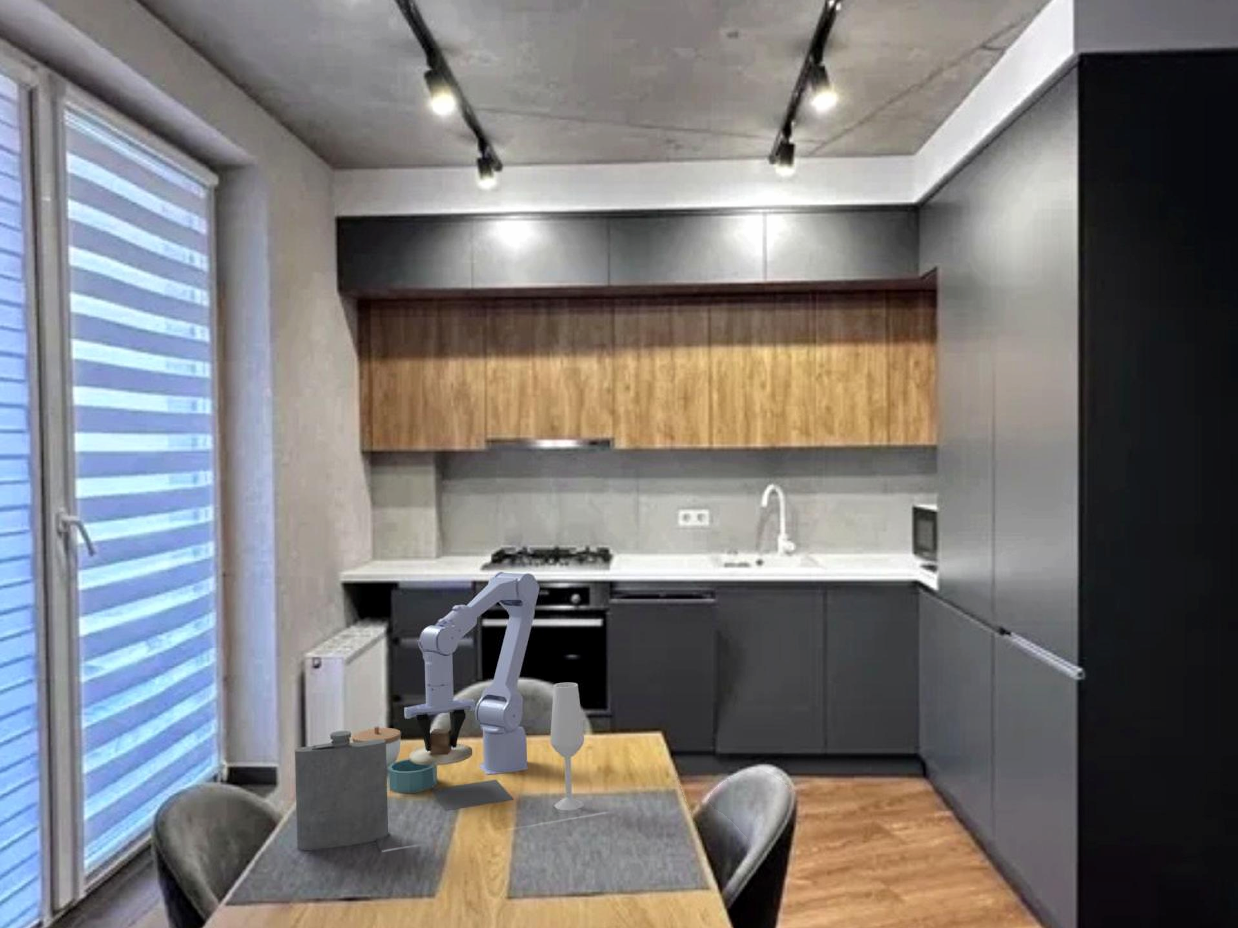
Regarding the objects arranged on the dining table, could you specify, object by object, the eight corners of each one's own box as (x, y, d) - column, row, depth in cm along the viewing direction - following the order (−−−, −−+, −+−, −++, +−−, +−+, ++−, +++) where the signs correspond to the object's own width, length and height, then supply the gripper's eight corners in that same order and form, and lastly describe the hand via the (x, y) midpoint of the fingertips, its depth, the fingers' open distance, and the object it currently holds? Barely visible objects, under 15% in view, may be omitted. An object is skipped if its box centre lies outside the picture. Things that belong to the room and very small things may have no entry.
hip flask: (387, 832, 176) (385, 724, 176) (389, 840, 172) (386, 730, 173) (297, 844, 172) (294, 733, 172) (296, 852, 168) (293, 739, 168)
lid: (477, 746, 205) (477, 722, 205) (465, 764, 192) (464, 739, 192) (418, 747, 206) (417, 723, 206) (402, 765, 193) (401, 740, 193)
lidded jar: (394, 774, 211) (393, 732, 211) (347, 775, 211) (346, 733, 211) (406, 760, 222) (405, 720, 222) (361, 761, 222) (360, 721, 222)
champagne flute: (592, 803, 189) (588, 682, 189) (574, 814, 183) (571, 689, 183) (563, 798, 192) (560, 680, 192) (545, 809, 186) (542, 687, 186)
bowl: (431, 776, 209) (431, 755, 209) (440, 789, 200) (440, 768, 200) (385, 782, 205) (384, 762, 205) (392, 796, 196) (392, 775, 196)
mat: (496, 781, 204) (496, 779, 204) (513, 801, 191) (513, 799, 191) (431, 790, 199) (431, 789, 199) (444, 812, 186) (444, 810, 186)
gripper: (468, 675, 206) (469, 738, 205) (400, 683, 200) (402, 748, 200) (476, 682, 199) (478, 746, 199) (407, 690, 193) (409, 756, 193)
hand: (440, 748), depth 199 cm, fingers closed on lid, 5 cm apart
